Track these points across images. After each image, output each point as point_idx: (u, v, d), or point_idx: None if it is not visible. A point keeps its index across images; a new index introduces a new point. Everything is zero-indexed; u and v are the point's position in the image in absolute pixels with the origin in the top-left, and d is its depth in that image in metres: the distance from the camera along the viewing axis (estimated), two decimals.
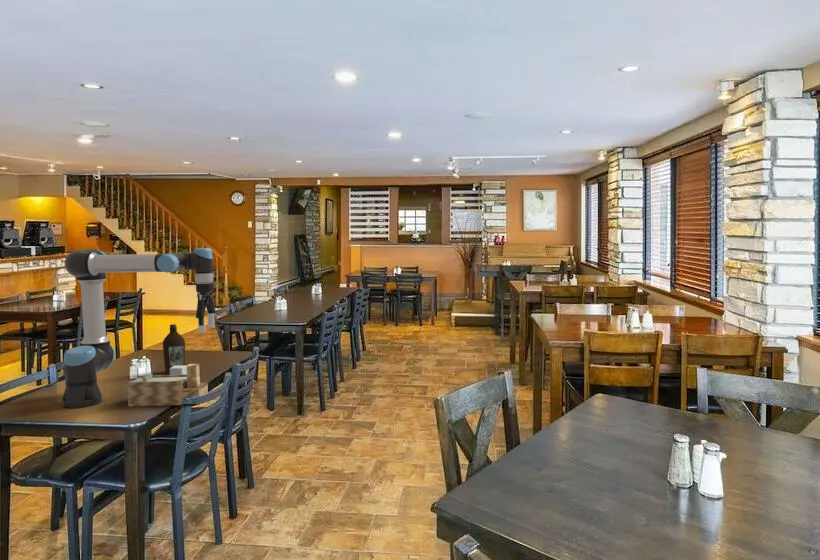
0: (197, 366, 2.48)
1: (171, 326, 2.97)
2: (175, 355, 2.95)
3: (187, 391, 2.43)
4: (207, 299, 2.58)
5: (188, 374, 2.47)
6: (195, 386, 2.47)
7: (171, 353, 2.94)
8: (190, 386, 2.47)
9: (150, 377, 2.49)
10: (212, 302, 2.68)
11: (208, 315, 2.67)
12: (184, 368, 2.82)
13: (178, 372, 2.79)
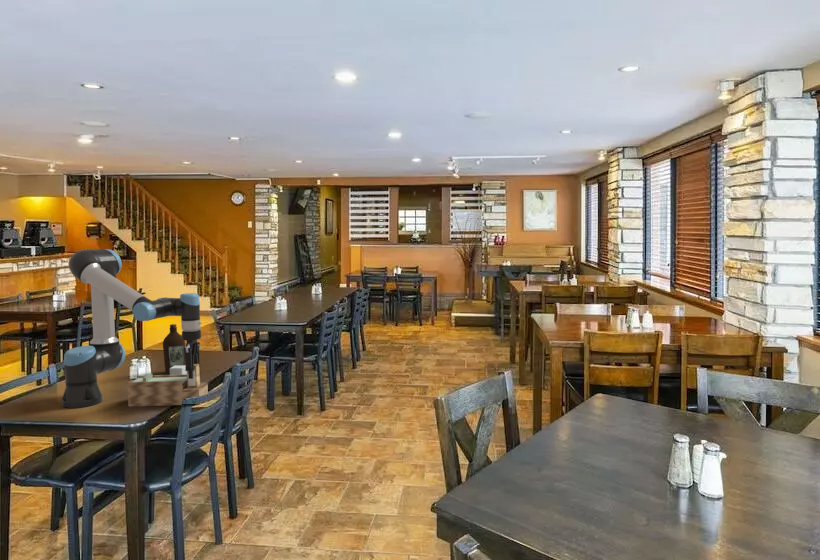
0: (197, 366, 2.48)
1: (171, 326, 2.97)
2: (175, 355, 2.95)
3: (187, 391, 2.43)
4: (194, 348, 2.46)
5: None
6: (195, 386, 2.47)
7: (171, 353, 2.94)
8: (190, 386, 2.47)
9: (150, 377, 2.49)
10: (198, 353, 2.53)
11: None
12: (184, 368, 2.82)
13: (178, 372, 2.79)
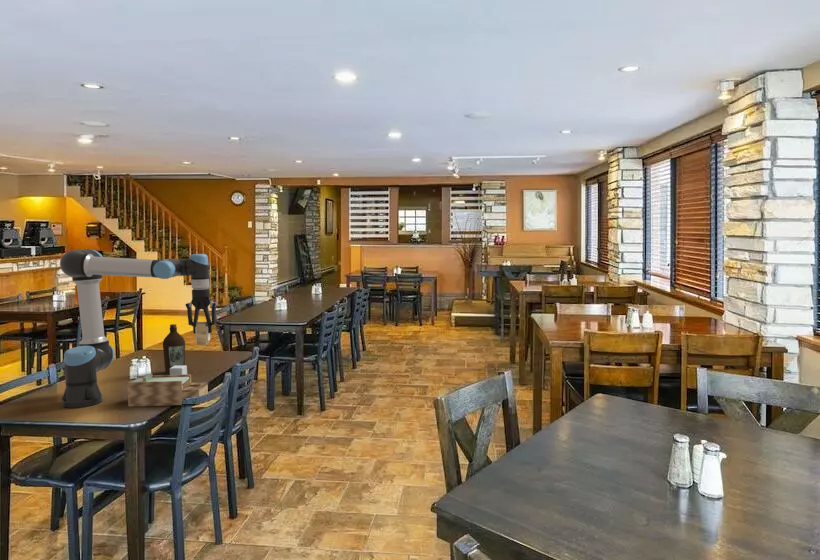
0: (200, 324, 2.60)
1: (171, 326, 2.97)
2: (175, 355, 2.95)
3: (187, 391, 2.43)
4: (195, 306, 2.60)
5: None
6: None
7: (171, 353, 2.94)
8: None
9: (150, 377, 2.49)
10: None
11: None
12: (184, 368, 2.82)
13: (178, 372, 2.79)
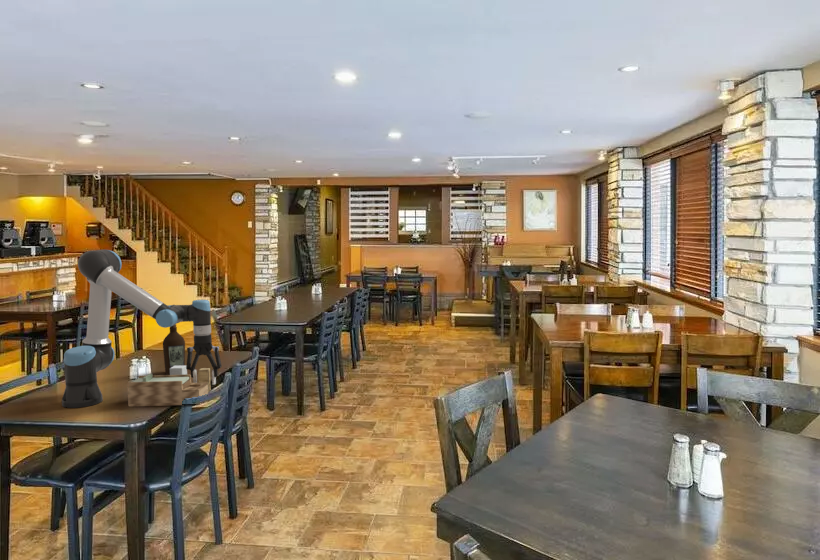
0: (202, 372, 2.62)
1: (171, 326, 2.97)
2: (175, 355, 2.95)
3: (187, 391, 2.43)
4: (196, 351, 2.61)
5: None
6: None
7: (171, 353, 2.94)
8: None
9: (150, 377, 2.49)
10: (215, 357, 2.63)
11: None
12: (184, 368, 2.82)
13: (178, 372, 2.79)
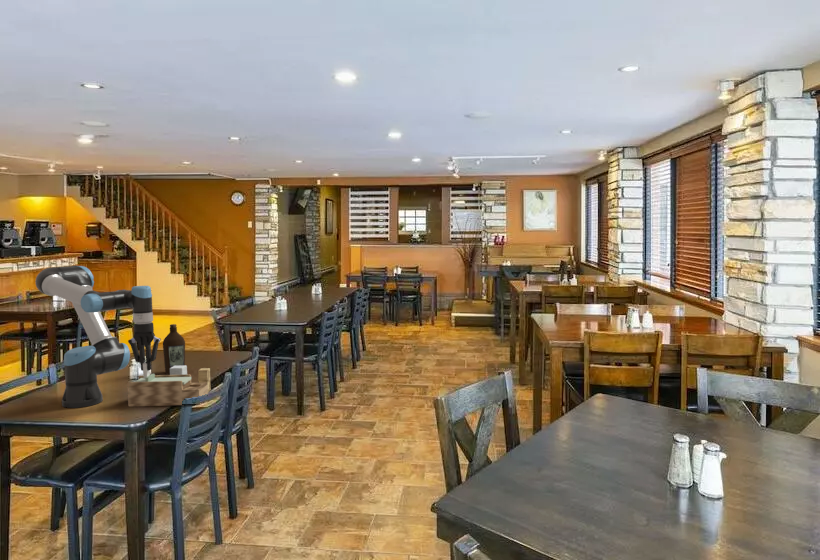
0: (202, 372, 2.62)
1: (171, 326, 2.97)
2: (175, 355, 2.95)
3: (187, 391, 2.43)
4: (138, 342, 2.45)
5: None
6: None
7: (171, 353, 2.94)
8: None
9: (152, 377, 2.49)
10: (152, 349, 2.46)
11: None
12: (184, 368, 2.82)
13: (178, 372, 2.79)
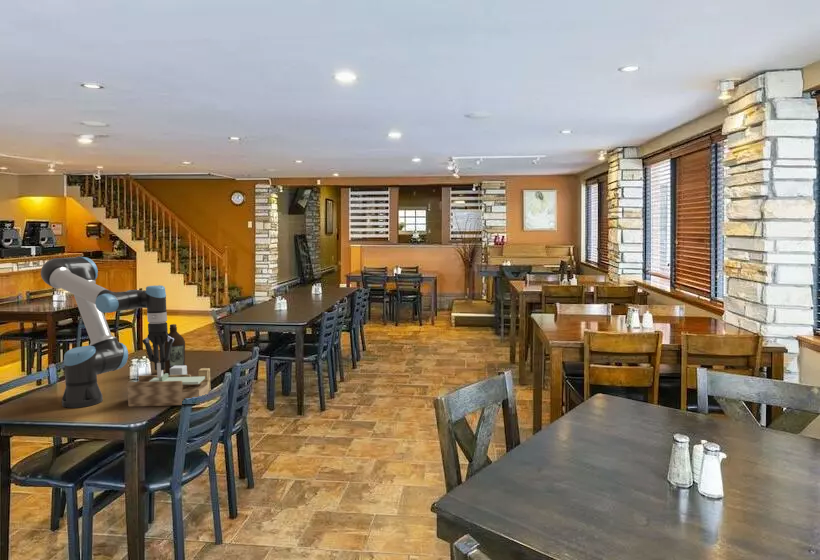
0: (202, 372, 2.62)
1: (171, 326, 2.97)
2: (175, 355, 2.95)
3: (187, 391, 2.43)
4: (152, 341, 2.45)
5: None
6: None
7: (171, 353, 2.94)
8: None
9: (166, 377, 2.50)
10: (166, 349, 2.46)
11: None
12: (184, 368, 2.82)
13: (178, 372, 2.79)
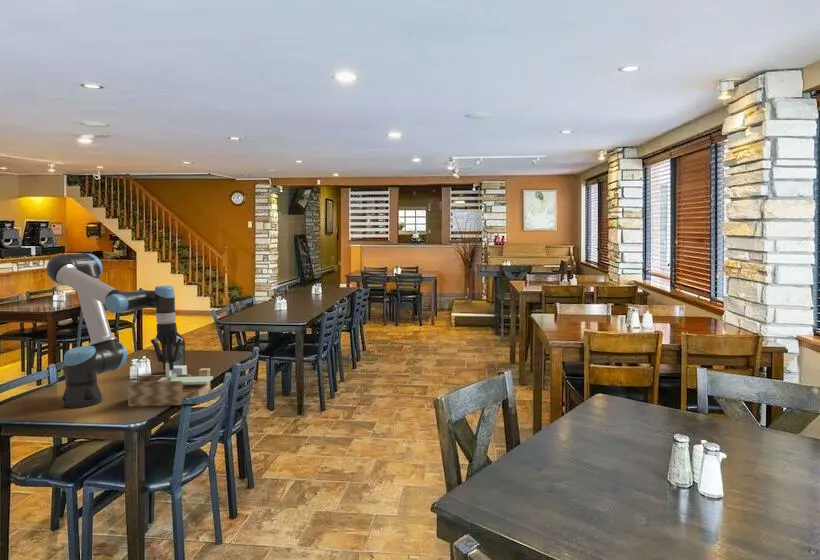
0: (202, 372, 2.62)
1: None
2: None
3: (187, 391, 2.43)
4: (161, 341, 2.45)
5: None
6: None
7: None
8: None
9: (174, 376, 2.50)
10: (175, 349, 2.46)
11: None
12: (184, 368, 2.82)
13: (178, 372, 2.79)
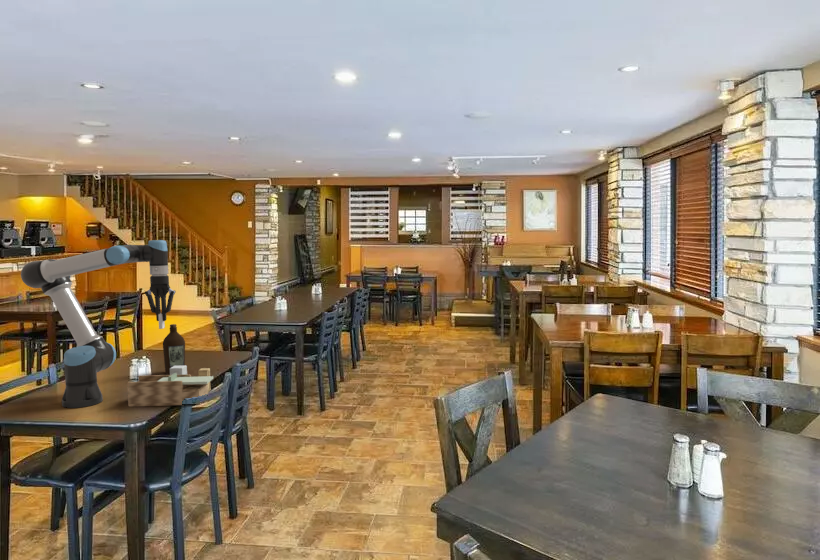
0: (202, 372, 2.62)
1: (171, 326, 2.97)
2: (175, 355, 2.95)
3: (187, 391, 2.43)
4: (154, 293, 2.56)
5: None
6: None
7: (171, 353, 2.94)
8: None
9: (175, 376, 2.50)
10: None
11: None
12: (184, 368, 2.82)
13: (178, 372, 2.79)
